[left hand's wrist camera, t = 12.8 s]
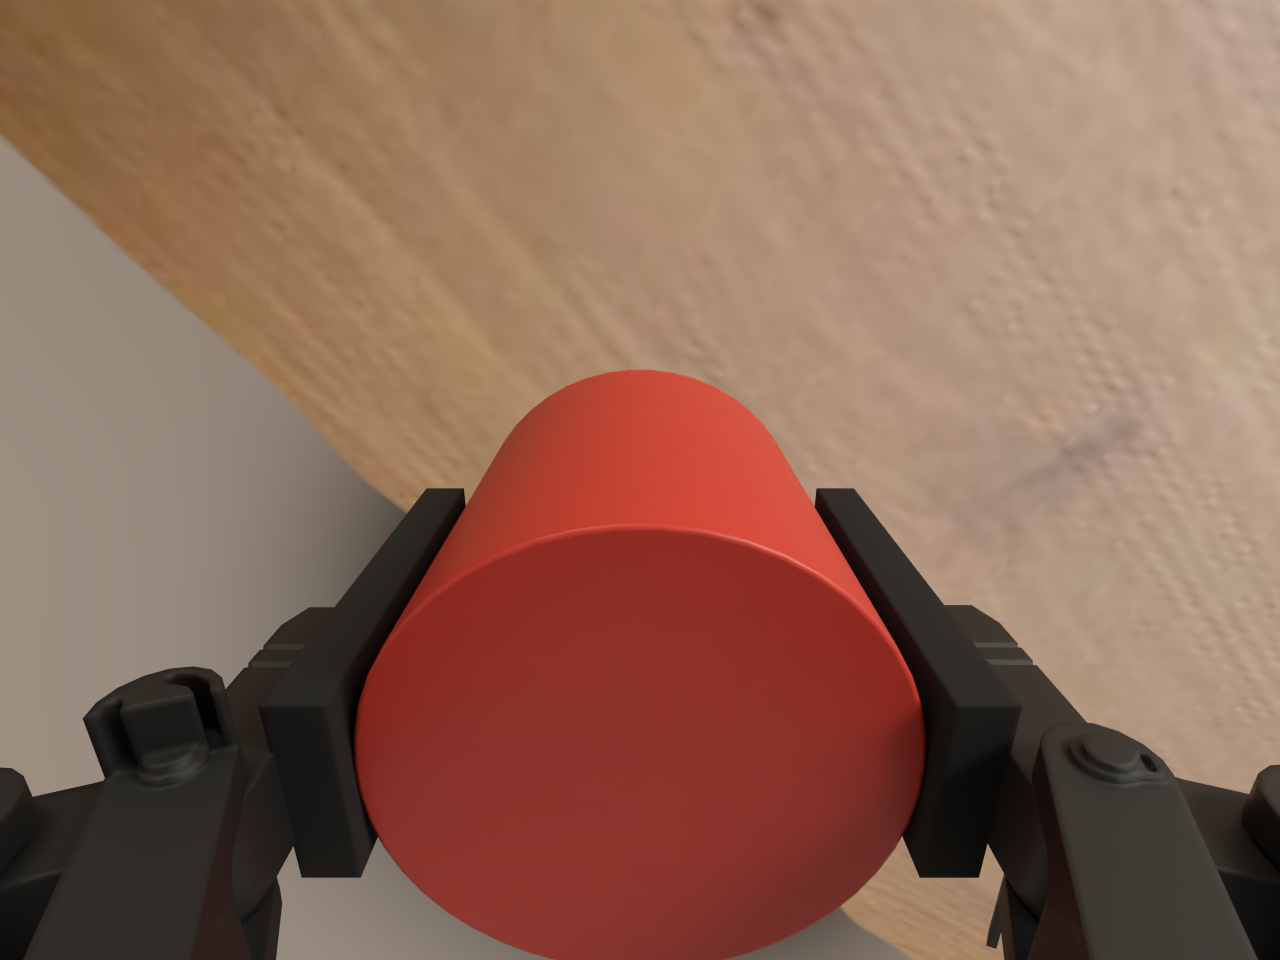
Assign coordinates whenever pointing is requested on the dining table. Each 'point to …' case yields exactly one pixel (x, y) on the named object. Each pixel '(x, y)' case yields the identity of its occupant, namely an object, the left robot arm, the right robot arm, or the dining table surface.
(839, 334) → the dining table surface
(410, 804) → the cylinder
